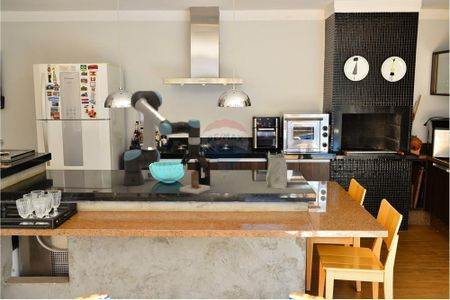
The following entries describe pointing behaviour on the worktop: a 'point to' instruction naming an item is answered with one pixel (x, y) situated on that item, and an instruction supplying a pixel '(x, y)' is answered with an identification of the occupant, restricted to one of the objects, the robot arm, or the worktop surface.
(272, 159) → the grocery bag
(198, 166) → the coffee jar
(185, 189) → the candle dish
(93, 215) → the worktop surface
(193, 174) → the wooden wedge
